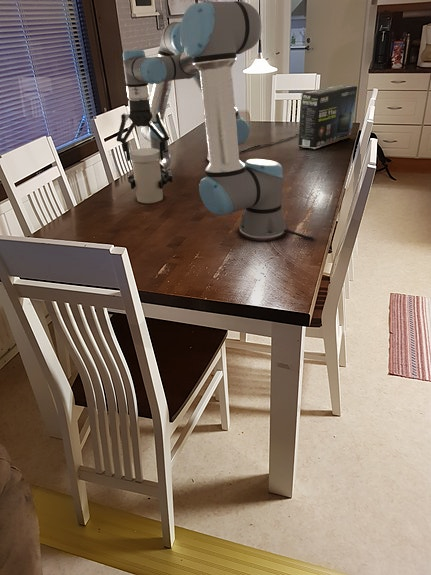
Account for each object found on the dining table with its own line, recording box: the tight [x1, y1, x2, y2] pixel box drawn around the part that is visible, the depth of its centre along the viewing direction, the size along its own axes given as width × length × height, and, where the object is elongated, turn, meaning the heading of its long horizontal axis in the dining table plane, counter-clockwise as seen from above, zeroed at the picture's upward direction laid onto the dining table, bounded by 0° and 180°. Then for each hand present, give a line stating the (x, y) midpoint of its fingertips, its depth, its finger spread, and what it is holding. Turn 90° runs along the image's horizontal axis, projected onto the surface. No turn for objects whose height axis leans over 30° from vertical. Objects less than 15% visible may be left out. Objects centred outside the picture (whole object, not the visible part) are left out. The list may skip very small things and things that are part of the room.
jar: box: [131, 159, 164, 204], centre depth 176 cm, size 10×10×17 cm
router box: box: [297, 84, 358, 151], centre depth 238 cm, size 36×11×27 cm, turn 134°
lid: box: [130, 147, 160, 162], centre depth 172 cm, size 11×11×2 cm
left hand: (146, 185), depth 174 cm, fingers closed on jar, 10 cm apart
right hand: (145, 159), depth 173 cm, fingers open, 12 cm apart
